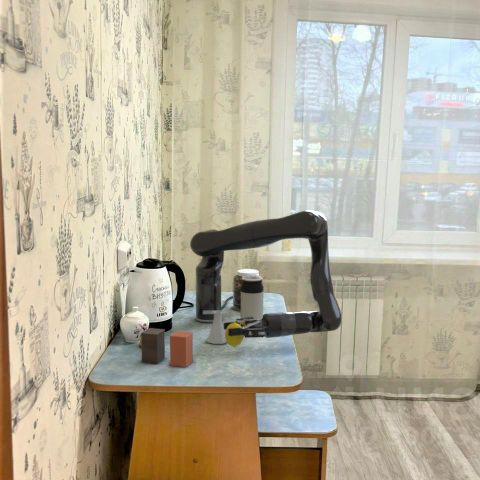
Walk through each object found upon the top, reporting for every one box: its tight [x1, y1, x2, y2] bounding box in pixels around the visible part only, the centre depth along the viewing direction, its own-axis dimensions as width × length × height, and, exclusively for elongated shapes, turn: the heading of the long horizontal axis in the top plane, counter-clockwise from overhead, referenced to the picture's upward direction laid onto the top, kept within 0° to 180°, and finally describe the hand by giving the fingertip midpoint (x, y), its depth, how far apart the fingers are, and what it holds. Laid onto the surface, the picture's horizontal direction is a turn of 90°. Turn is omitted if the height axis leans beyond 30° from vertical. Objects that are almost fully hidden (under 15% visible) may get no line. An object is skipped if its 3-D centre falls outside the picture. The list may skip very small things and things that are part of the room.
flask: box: [206, 310, 227, 345], centre depth 195 cm, size 7×7×10 cm
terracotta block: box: [169, 330, 194, 368], centre depth 175 cm, size 5×5×9 cm
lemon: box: [225, 321, 244, 348], centre depth 181 cm, size 6×6×8 cm
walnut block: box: [140, 327, 166, 365], centre depth 177 cm, size 5×5×9 cm
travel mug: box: [240, 275, 265, 327], centre depth 211 cm, size 8×8×18 cm
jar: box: [232, 268, 264, 312], centre depth 235 cm, size 12×12×15 cm
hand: (226, 329), depth 180 cm, fingers closed on lemon, 5 cm apart
